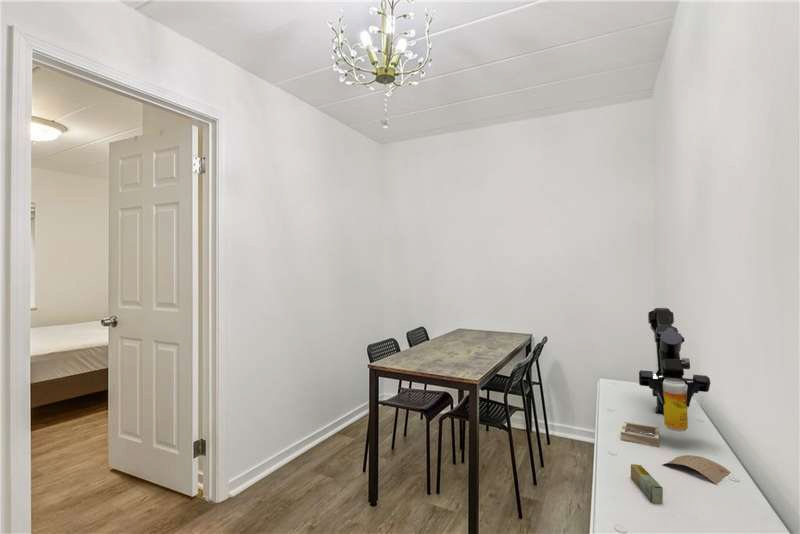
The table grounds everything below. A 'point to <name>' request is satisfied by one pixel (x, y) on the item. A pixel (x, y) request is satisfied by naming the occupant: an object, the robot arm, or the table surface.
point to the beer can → (675, 404)
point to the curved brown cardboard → (703, 467)
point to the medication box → (647, 484)
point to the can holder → (640, 438)
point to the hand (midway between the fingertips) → (675, 405)
